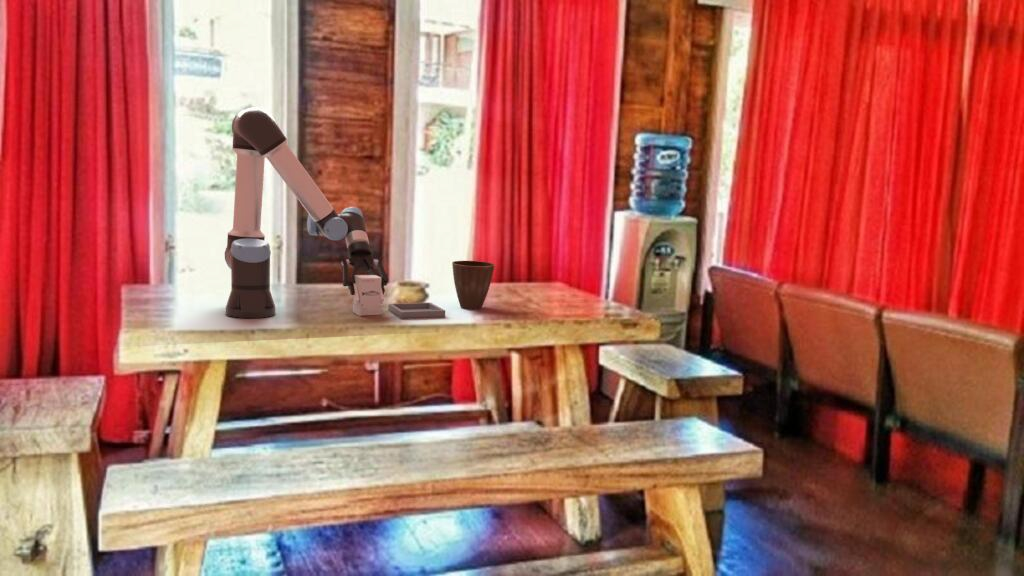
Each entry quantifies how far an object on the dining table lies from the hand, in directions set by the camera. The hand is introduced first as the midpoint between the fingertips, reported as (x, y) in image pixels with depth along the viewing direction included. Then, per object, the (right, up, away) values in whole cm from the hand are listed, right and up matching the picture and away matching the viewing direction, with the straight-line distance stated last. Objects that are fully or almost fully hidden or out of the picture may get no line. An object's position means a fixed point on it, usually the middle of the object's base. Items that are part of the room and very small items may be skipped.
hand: (369, 301), depth 262 cm
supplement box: (-2, -4, +4) cm, 6 cm away
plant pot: (+32, -3, +24) cm, 40 cm away
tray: (+14, -4, +7) cm, 17 cm away
